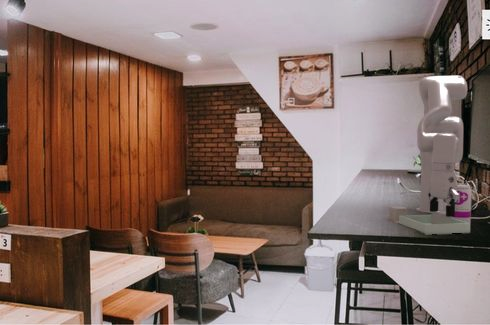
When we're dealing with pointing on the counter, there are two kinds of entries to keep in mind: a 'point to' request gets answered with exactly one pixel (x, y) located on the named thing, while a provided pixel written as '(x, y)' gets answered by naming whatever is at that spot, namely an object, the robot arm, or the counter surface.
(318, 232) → the counter surface
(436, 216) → the stone
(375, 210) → the counter surface
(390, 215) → the stone
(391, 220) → the birch board
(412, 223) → the tub
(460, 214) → the supplement can
